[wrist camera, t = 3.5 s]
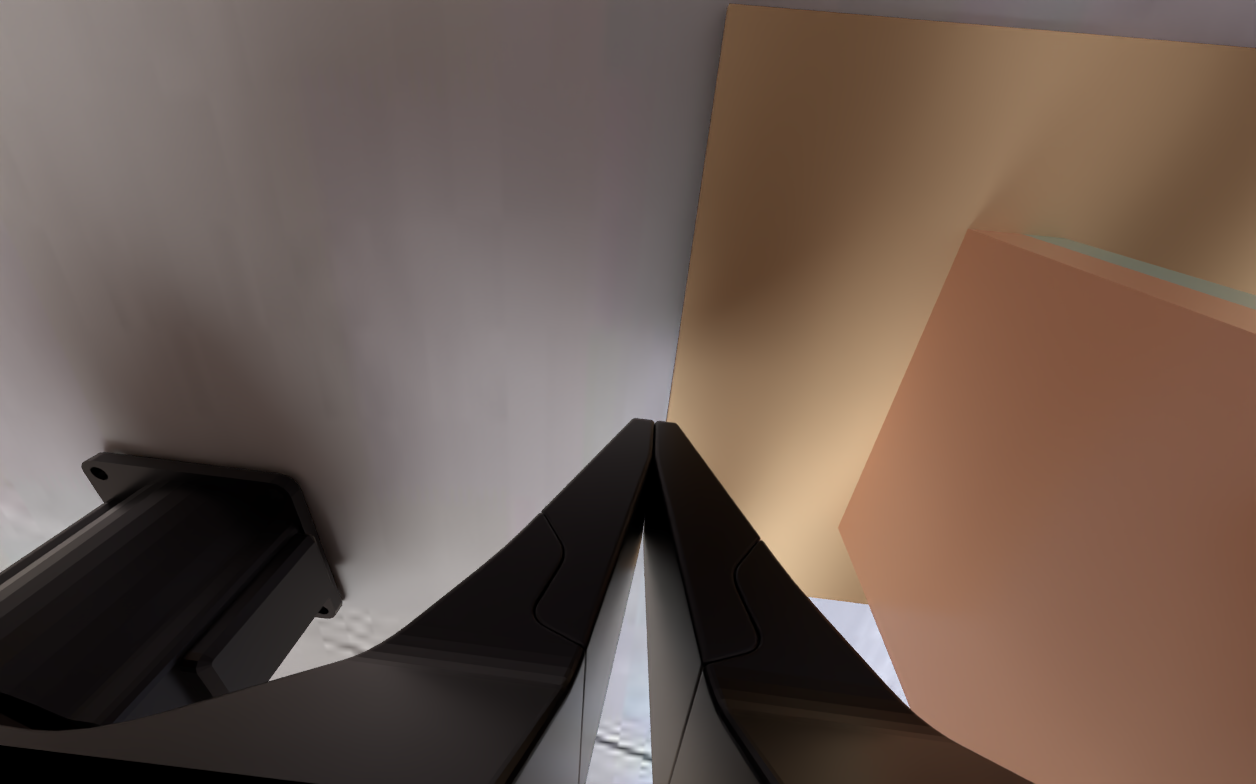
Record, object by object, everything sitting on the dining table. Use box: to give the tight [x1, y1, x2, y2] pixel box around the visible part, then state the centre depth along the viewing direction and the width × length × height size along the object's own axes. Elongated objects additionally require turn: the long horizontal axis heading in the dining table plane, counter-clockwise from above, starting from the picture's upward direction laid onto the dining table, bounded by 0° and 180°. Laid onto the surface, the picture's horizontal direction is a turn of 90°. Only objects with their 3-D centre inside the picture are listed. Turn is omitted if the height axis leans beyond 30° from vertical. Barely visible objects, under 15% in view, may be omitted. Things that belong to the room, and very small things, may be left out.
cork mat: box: [644, 3, 1256, 604], centre depth 11 cm, size 16×14×1 cm
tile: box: [838, 229, 1256, 784], centre depth 7 cm, size 2×8×8 cm, turn 176°
